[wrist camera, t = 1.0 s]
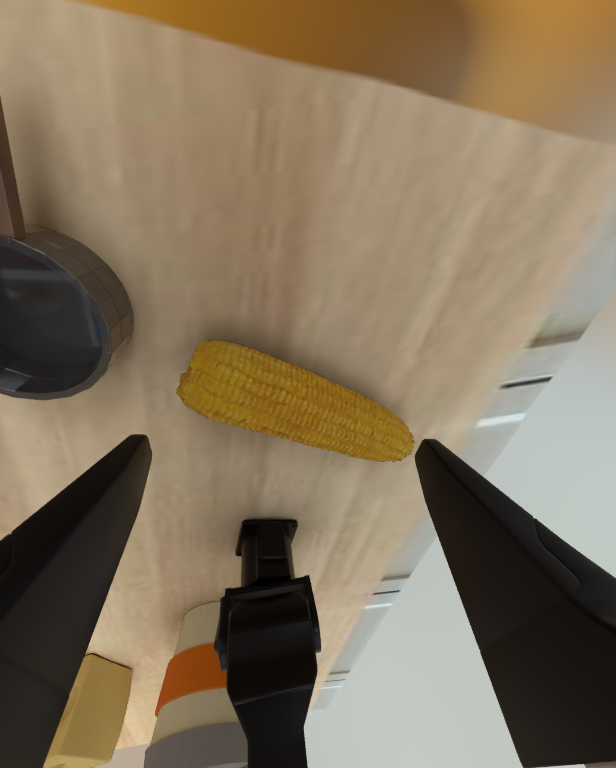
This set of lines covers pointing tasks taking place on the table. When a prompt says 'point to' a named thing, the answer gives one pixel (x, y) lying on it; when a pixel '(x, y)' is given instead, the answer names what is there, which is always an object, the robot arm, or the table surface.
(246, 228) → the table surface
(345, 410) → the food
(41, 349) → the pan
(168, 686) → the reusable coffee cup
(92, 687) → the cheese
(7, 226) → the pan handle
